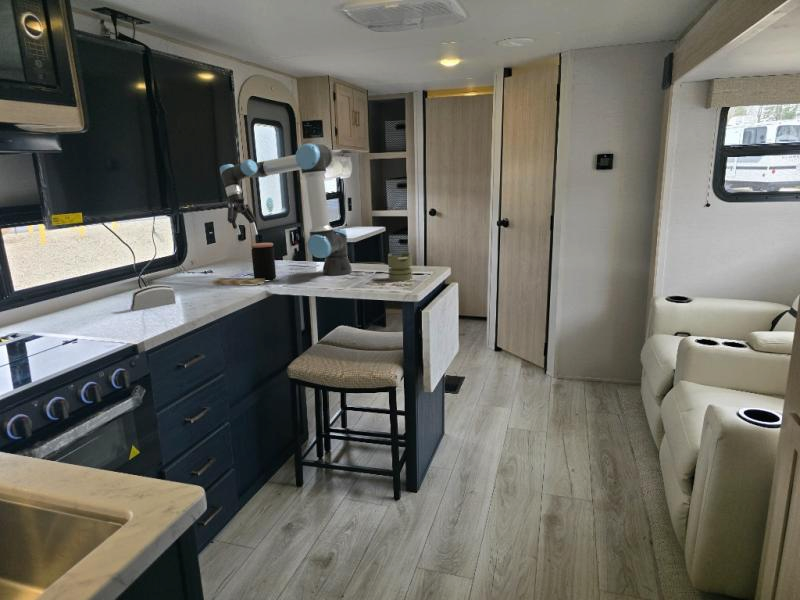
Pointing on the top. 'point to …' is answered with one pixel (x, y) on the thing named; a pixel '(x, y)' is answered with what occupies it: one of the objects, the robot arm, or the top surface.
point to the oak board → (238, 281)
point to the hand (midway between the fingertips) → (247, 234)
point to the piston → (400, 267)
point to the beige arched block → (152, 297)
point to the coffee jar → (263, 261)
